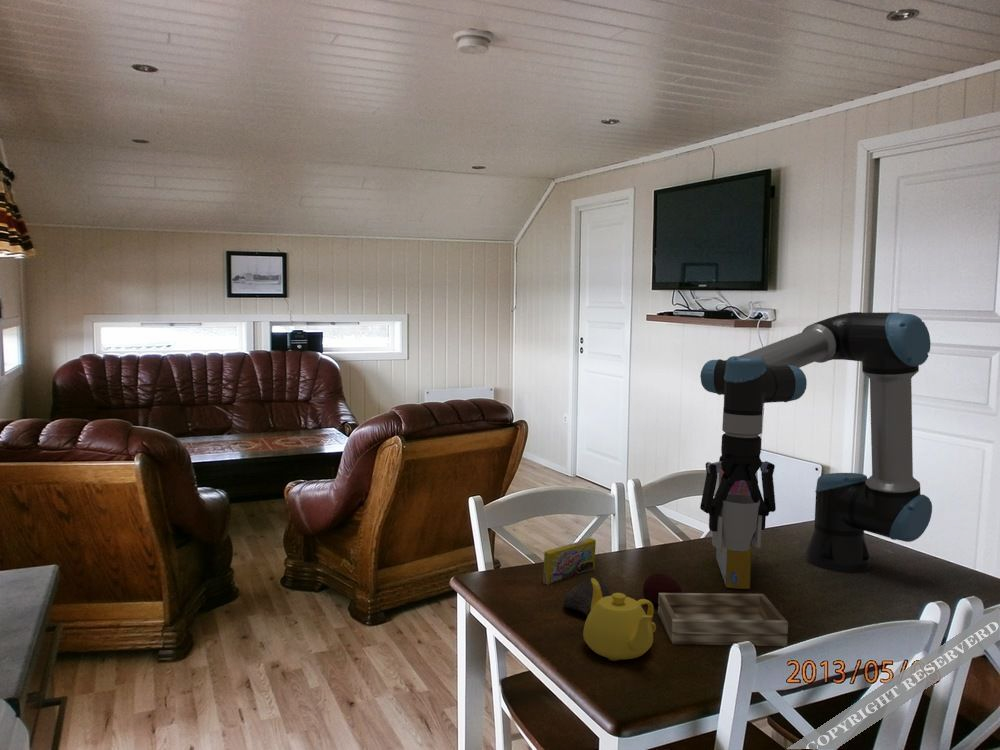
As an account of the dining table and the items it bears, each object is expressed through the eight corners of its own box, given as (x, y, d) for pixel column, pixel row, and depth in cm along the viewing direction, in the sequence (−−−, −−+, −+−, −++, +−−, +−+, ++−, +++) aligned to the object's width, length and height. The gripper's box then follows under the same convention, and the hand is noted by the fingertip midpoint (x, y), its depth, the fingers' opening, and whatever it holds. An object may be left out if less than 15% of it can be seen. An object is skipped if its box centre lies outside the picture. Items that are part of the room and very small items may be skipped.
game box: (750, 590, 172) (755, 474, 169) (725, 589, 173) (730, 473, 170) (737, 559, 192) (741, 455, 189) (715, 558, 193) (719, 455, 190)
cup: (764, 553, 147) (766, 504, 146) (723, 553, 146) (726, 503, 145) (747, 541, 155) (750, 493, 154) (709, 541, 154) (711, 493, 153)
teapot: (687, 668, 135) (689, 607, 134) (617, 685, 129) (619, 621, 128) (625, 624, 154) (626, 570, 152) (561, 637, 147) (562, 581, 146)
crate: (762, 616, 158) (763, 593, 157) (786, 647, 144) (788, 622, 143) (658, 615, 158) (658, 592, 157) (672, 646, 144) (673, 621, 143)
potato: (680, 613, 159) (681, 582, 158) (640, 608, 162) (641, 577, 161) (683, 600, 166) (684, 570, 165) (644, 595, 169) (645, 565, 168)
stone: (563, 633, 156) (591, 612, 150) (551, 594, 161) (578, 573, 155) (598, 631, 162) (626, 611, 156) (585, 594, 167) (612, 573, 161)
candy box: (548, 588, 173) (548, 553, 172) (542, 585, 174) (542, 551, 174) (595, 571, 183) (596, 539, 182) (589, 569, 185) (589, 536, 184)
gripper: (780, 430, 153) (774, 538, 156) (685, 431, 150) (680, 541, 153) (799, 437, 146) (793, 550, 148) (700, 437, 143) (695, 553, 145)
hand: (736, 545), depth 150 cm, fingers closed on cup, 8 cm apart
